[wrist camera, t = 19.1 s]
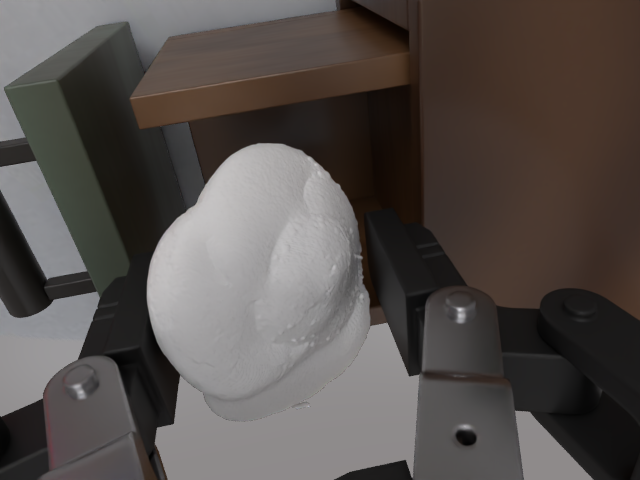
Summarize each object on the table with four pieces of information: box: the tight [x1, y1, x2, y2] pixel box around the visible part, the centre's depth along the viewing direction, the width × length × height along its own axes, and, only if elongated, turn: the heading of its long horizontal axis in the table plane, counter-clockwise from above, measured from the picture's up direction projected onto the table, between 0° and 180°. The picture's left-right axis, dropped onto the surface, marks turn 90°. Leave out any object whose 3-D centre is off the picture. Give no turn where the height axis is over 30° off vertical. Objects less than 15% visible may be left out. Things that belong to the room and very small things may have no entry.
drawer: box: [0, 7, 414, 378], centre depth 17 cm, size 15×10×9 cm, turn 97°
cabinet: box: [336, 0, 640, 320], centre depth 18 cm, size 12×11×11 cm
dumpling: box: [147, 143, 370, 421], centre depth 12 cm, size 7×5×4 cm
